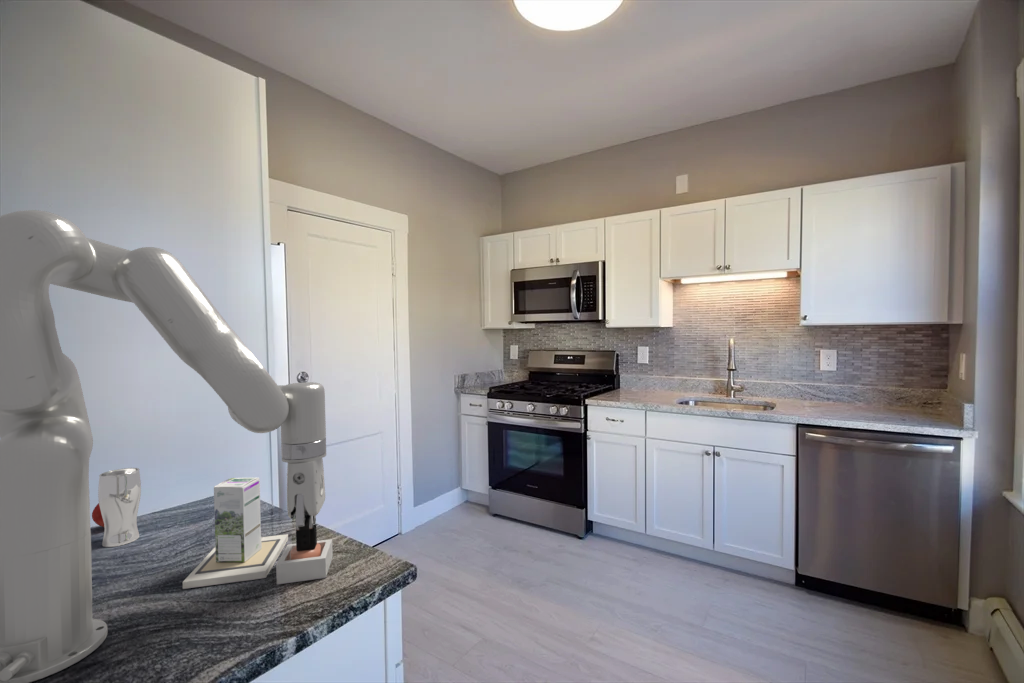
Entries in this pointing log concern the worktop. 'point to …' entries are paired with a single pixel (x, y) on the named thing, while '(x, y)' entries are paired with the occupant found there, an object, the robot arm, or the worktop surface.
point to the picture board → (237, 565)
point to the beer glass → (119, 505)
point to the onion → (97, 516)
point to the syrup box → (237, 519)
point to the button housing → (304, 564)
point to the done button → (306, 553)
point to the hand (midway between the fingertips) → (306, 548)
